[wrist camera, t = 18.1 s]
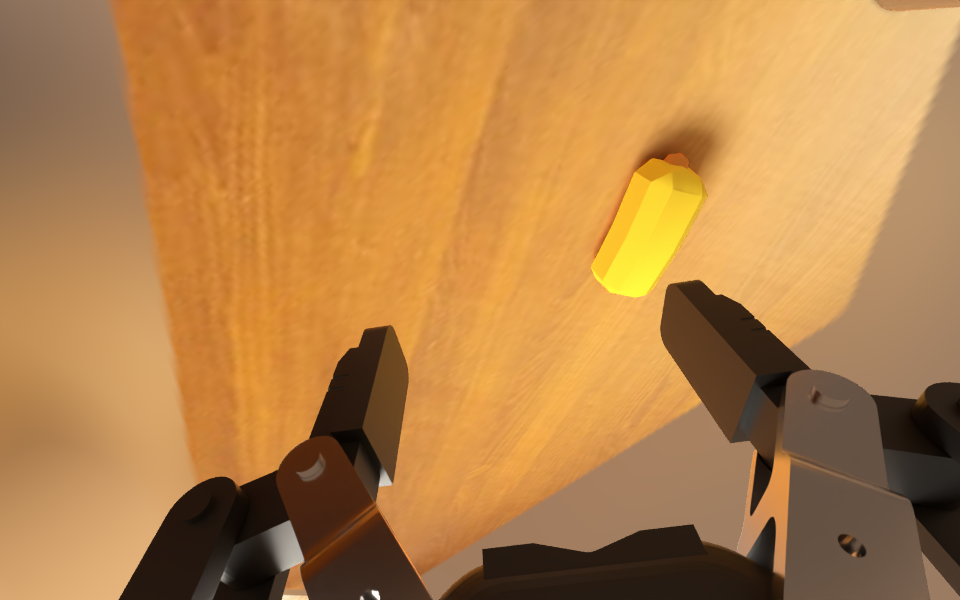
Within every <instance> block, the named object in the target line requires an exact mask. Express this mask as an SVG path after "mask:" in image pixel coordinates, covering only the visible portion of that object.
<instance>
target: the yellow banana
mask: <svg viewBox="0 0 960 600" xmlns="http://www.w3.org/2000/svg"><path fill="white" fill-rule="evenodd" d="M688 165H689V160H688V159H687V158H686V157H685V156H684V155H683V154H682V153H676V154H669V155H668V156H667V157H666V158H665V159H664V160H659V159H655V158H652V159H650V160H649V161H648V162H647V163H645V164H644V165H643V166H641V167H640V168H639V169H638V170H636V171H635V172H634V174H633V177H632V179H631V182H630V184H629V186H628V189H627V191H626V194H625V196H624V198H623V201H622V203H621V205H620V208H619V210H618V213H617V215H616V217H615V220H614V222H613V224H612V226H611V228H610V230H609V232H608V234H607V236H606V238H605V240H604V242H603V244H602V246H601V248H600V250H599V252H598V254H597V256H596V258H595V260H594V262H593V264H592V266H591V269H592V271H593V274H594V276H595V278H596V279H597V280H598V281H599V282H600V283H601V284H602V285H603V288H604V290H606V291H607V292H609V293H611V294H615V295H616V294H621V295H626V296H631V297H639V296H643V295H646V294H648V293H649V292H650V291H652V290H653V288H654V287H655V285H656V284H657V282H658V281H659V279H660V278H661V276H662V275H663V273H664V271H665V270H666V268H667V267H668V265H669V264H670V262H671V261H672V259H673V258H674V256H675V255H676V253H677V252H678V250H679V249H680V247H681V245H682V243H683V241H684V239H685V238H686V236H687V234H688V232H689V230H690V228H691V226H692V224H693V222H694V220H695V219H696V217H697V215H698V213H699V211H700V209H701V207H702V205H703V203H704V202H705V200H706V198H707V196H708V195H707V193H706V190H705V187H704V185H703V182H702V179H701V178H700V177H699V176H698V175H697V174H696V173H695V172H694V171H693V170H692V169H690V168H689V167H688Z"/></svg>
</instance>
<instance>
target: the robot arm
mask: <svg viewBox="0 0 960 600" xmlns="http://www.w3.org/2000/svg"><path fill="white" fill-rule="evenodd" d="M875 1H876V2H877V3H878V4H879V5H880V6H881V7H883V8H885V9H887V10H890V11H908V10H922V9H936V8H953V7H960V0H875ZM660 330H661V337H662V341H663V343H664V345H665V347H666V349H667V350H668V352H669V353H670V355H671V356H672V358H673V359H674V361H675V362H676V363H677V365H678V366H679V368H680V369H681V371H682V372H683V374H684V375H685V377H686V378H687V380H688V381H689V383H690V384H691V386H692V387H693V389H694V390H695V392H696V393H697V395H698V396H699V397H700V399H701V400H702V402H703V403H704V405H705V406H706V408H707V409H708V411H709V412H710V414H711V415H712V416H713V418H714V420H715V421H716V423H717V424H718V426H719V427H720V429H721V430H722V431H723V433H724V434H725V436H726V437H727V439H728V440H729V442H730V443H735V442H743V441H750V442H751V443H752V445H753V446H754V447H755V449H756V450H755V451H754V454H753V457H752V465H751V472H750V480H749V487H748V495H747V503H746V510H745V518H744V524H743V529H742V533H741V536H740V539H739V542H738V546H737V549H736V552H735V551H732V550H730V549H727V548H725V547H722V546H719V545H715V544H712V543H709V542H704V541H701V540H700V537H699V535H698V533H697V531H696V529H695V527H694V525H683V526H676V527H667V528H658V529H649V530H641V531H638V532H636V533H634V534H632V535H630V536H627V537H625V538H623V539H621V540H618V541H616V542H614V543H612V544H610V545H608V546H605V547H603V548H601V549H599V550H596V551H593V552H581V551H575V550H569V549H563V548H558V547H552V546H546V545H540V544H534V543H531V544H523V545H514V546H506V547H497V548H489V549H483V550H482V551H483V565H482V566H480V567H477V568H475V569H473V570H472V571H470V572H469V573H467V574H466V575H464V576H463V577H461V578H460V579H459V580H458V581H457V582H455V583H454V584H453V585H452V586H451V587H450V588H449V589H448V590H447V591H446V592H445V593H444V594H443V595H442V597H441V598H440V599H439V600H930V595H929V590H928V585H927V579H926V574H925V569H924V563H923V557H922V552H923V554H924V555H925V556H926V557H927V558H928V559H929V561H930V562H931V563H932V564H933V565H934V566H935V568H936V569H937V570H938V571H939V572H940V573H941V575H942V576H943V577H944V578H945V580H946V581H947V582H948V583H949V584H950V585H951V587H952V588H953V589H954V590H955V591H956V593H957V594H958V595H959V596H960V383H951V382H948V383H946V382H944V383H936V384H933V385H931V386H929V387H928V388H927V389H926V390H925V391H924V393H923V394H922V395H921V396H920V398H919V399H918V400H916V399H907V398H897V397H888V396H878V395H870V394H869V393H867V391H866V390H864V389H863V388H862V387H860V386H859V385H858V384H856V383H854V382H853V381H851V380H849V379H847V378H845V377H842V376H840V375H837V374H833V373H830V372H826V371H820V370H811V369H810V368H809V367H808V366H807V365H806V364H805V363H804V362H803V361H801V360H800V359H799V358H798V357H797V356H796V355H795V354H794V353H793V352H792V351H791V350H790V349H789V348H788V347H786V346H785V345H784V344H783V343H782V342H781V341H780V340H779V339H778V338H777V337H776V336H775V335H774V334H772V333H771V332H770V331H769V330H766V327H765V326H764V325H763V324H762V323H761V322H760V321H758V320H757V319H755V318H754V316H753V315H752V314H751V313H750V312H749V311H748V310H747V309H746V308H744V307H743V306H742V305H741V304H740V303H738V302H736V301H734V300H732V299H730V298H728V297H726V296H724V295H722V294H721V295H715V294H714V293H713V292H712V291H711V290H710V289H709V288H708V287H707V286H706V285H705V284H704V283H703V282H702V281H700V280H693V281H687V282H680V283H673V284H670V285H668V287H667V289H666V295H665V301H664V307H663V313H662V320H661V327H660ZM407 388H408V367H407V363H406V360H405V357H404V355H403V352H402V349H401V347H400V344H399V341H398V338H397V336H396V333H395V330H394V328H393V327H392V326H391V325H389V326H382V327H375V328H369V329H365V330H364V332H363V335H362V338H361V341H360V344H359V347H357V348H350V349H349V350H348V351H347V352H346V354H345V355H344V356H343V357H342V358H341V359H340V361H339V362H338V364H337V367H336V369H335V372H334V374H333V379H332V380H331V382H330V385H329V388H328V392H327V393H326V395H325V398H324V401H323V403H322V406H321V409H320V411H319V414H318V416H317V419H316V422H315V424H314V427H313V430H312V432H311V435H310V437H309V439H308V440H306V441H304V442H302V443H300V444H299V445H298V446H296V447H295V448H294V449H293V450H291V451H290V452H289V453H288V454H287V456H286V457H285V458H284V460H283V461H282V463H281V464H280V466H279V469H278V470H276V471H274V472H272V473H270V474H268V475H265V476H263V477H260V478H258V479H256V480H253V481H251V482H249V483H246V484H244V485H242V486H238V485H237V484H236V483H235V482H234V481H233V480H231V479H230V478H227V477H215V478H211V479H208V480H206V481H204V482H202V483H200V484H198V485H196V486H195V487H193V488H192V489H191V490H189V491H188V492H187V493H185V495H183V496H182V497H181V498H180V499H179V500H178V501H177V502H176V503H175V504H174V506H173V507H172V508H171V509H170V511H169V513H168V514H167V516H166V517H165V519H164V521H163V523H162V525H161V526H160V528H159V530H158V532H157V533H156V535H155V537H154V538H153V540H152V542H151V544H150V545H149V547H148V549H147V551H146V553H145V554H144V556H143V558H142V560H141V561H140V563H139V565H138V567H137V569H136V570H135V572H134V574H133V575H132V577H131V579H130V581H129V582H128V584H127V586H126V588H125V589H124V591H123V593H122V595H121V596H120V598H119V600H282V596H283V592H284V589H285V585H286V582H287V578H288V574H289V571H290V568H291V567H293V566H295V565H297V564H299V563H301V562H303V561H304V563H303V564H302V565H301V567H300V572H301V577H302V581H303V584H304V587H305V590H306V592H307V595H308V598H309V600H434V598H433V597H432V595H431V593H430V592H429V590H428V588H427V587H426V585H425V583H424V582H423V580H422V579H421V577H420V575H419V574H418V572H417V570H416V569H415V567H414V565H413V564H412V562H411V560H410V559H409V557H408V555H407V554H406V552H405V551H404V549H403V547H402V546H401V544H400V542H399V541H398V539H397V537H396V536H395V534H394V532H393V531H392V529H391V527H390V526H389V524H388V522H387V521H386V519H385V517H384V516H383V514H382V512H381V511H380V509H379V507H378V506H377V504H376V498H377V492H378V487H380V486H388V485H393V480H394V474H395V467H396V461H397V454H398V447H399V441H400V434H401V428H402V421H403V414H404V408H405V401H406V395H407ZM921 551H922V552H921Z"/></svg>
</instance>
